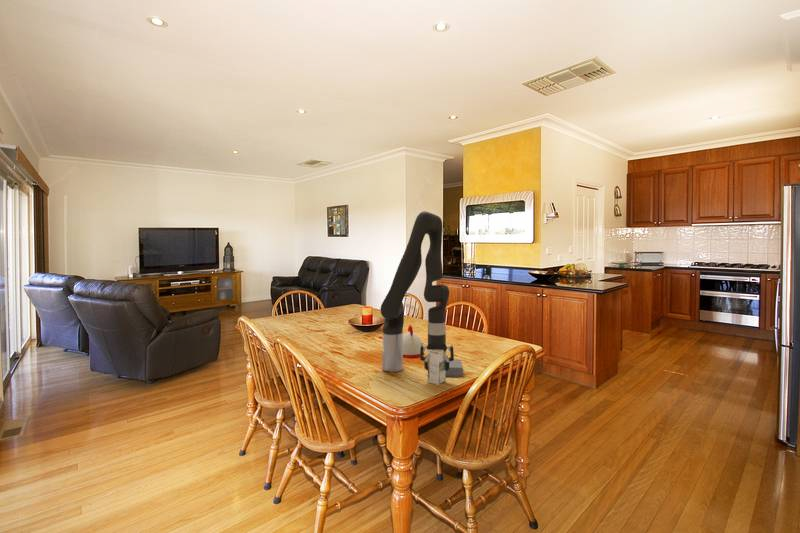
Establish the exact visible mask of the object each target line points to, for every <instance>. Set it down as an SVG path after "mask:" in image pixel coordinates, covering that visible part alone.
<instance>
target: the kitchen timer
mask: <svg viewBox="0 0 800 533" xmlns="http://www.w3.org/2000/svg"><path fill="white" fill-rule="evenodd" d="M421 345H423V346H424V342H423V340H421V338H420V337H419V335H418V334H417V333H415V332H414V330H413V327H412V325H409V326H408V328H407V332H406V333H404V334H403V359H404V358H405V359H416V358H420V349H421ZM424 355H425V351H423V356H424Z"/></svg>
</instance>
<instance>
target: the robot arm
mask: <svg viewBox="0 0 800 533" xmlns="http://www.w3.org/2000/svg"><path fill="white" fill-rule="evenodd" d="M426 235H427V236H428V238H429V248H428V251H427V253H426V257H425V262H424V263H425V264H424V266H425V279H426V280H425V286H424V291H423V297H424V300H425V301H426V302H427V303H438V305H436V306H432V307H429V309H428V311H427V312H428V313H427V316H428V317H427V318H428V319H427V345H424V344H423V345H421V349H420V357H419V360H420V361H421V362H422V361H423V362H424V370H425V371H428V359H429V358H430V355H431V352H430V354H429V355H428V353H427V354H426V356H424V355H423V351H424V352H426V350H427V351H428V350H429V349H433V350H435V349H439V350H444V352H445V351H446V352H447V350H448V352H449V353H450V356H448V355H447V353H446V354H444V352H443V357H444V359H445V360H446V371H448V369H449V362H450V361H453V360H455V356H454V354H455V353H454V346H453V345H447V344H446V342H447V338H446V337H447V328H446V310H447V306H448V301H449V297H450V289H449V287H448V286H447V285H445V284H433V283H434V282H436V281H440V280H443V278H444V272H443V263H442V244H443V243H442V242H443V220H442V218H441V217H440V216H438V215H436V214H434V213H432V212H429V211H426V210H425V211H421V212H420V213H418V215H417V216H416V218H415V221H414V224H413V226H412V230H411V233H410V236H409V239H408V242H407V245H406V248H405V249H404V252H403V255H402V256H401V259H400V262H399V263H398V266H397V269H396V272H395V274H394V277H393V280H392V283H391V286H390V288H389V289H388V290H389V291H388V292H387V293H386V296H385V298H384V299H383V301H382V303H381V305H380V313H381V316H382V317H383V318H384V323H383V326H382V353H381V354H382V362H381V363H382V371H385V372H390V373H392V372H400V371H402V370H403V369H404V357H403V335H404V334H403V332H404V331H403V330H404V329H403V328H404V324H405V323H404V321H405V320H404V318H405V305H404V303H403V301H404V298H405V296H406V294H407V293H408V292H407V291H408V290H409V289H410V287H411V286H412V284H413V283H414V282H415V280H416V277H417V275H418V273H419V271H420V270H421V266H422V262H423V259H422V258H423V257H422V246H423V245H422V244H423V240H424V238H425V236H426Z"/></svg>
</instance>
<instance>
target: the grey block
mask: <svg viewBox="0 0 800 533" xmlns="http://www.w3.org/2000/svg"><path fill="white" fill-rule="evenodd" d="M463 369H464V368H463V364H462V360H461V359H454V360H453V361H450V362H449V369H448V371H446V377H456V378H457V377H461V378H462V377H464V376H463V375H464V372H463Z"/></svg>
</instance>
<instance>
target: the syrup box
mask: <svg viewBox="0 0 800 533" xmlns="http://www.w3.org/2000/svg"><path fill="white" fill-rule="evenodd" d="M430 352H431V355H430V358H429V359H428V370H427V383H430V384H433V385H437V386H439V385H441V384H443V383H444V382H446V380H447V378H446V377H447V376H446V360H445V359H444V357H443V352H444V350H439V349H435V350H433V349H429V350H427V354H428V355H429V354H430ZM444 354H446V355H447V350H446V351H445V352H444Z"/></svg>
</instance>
